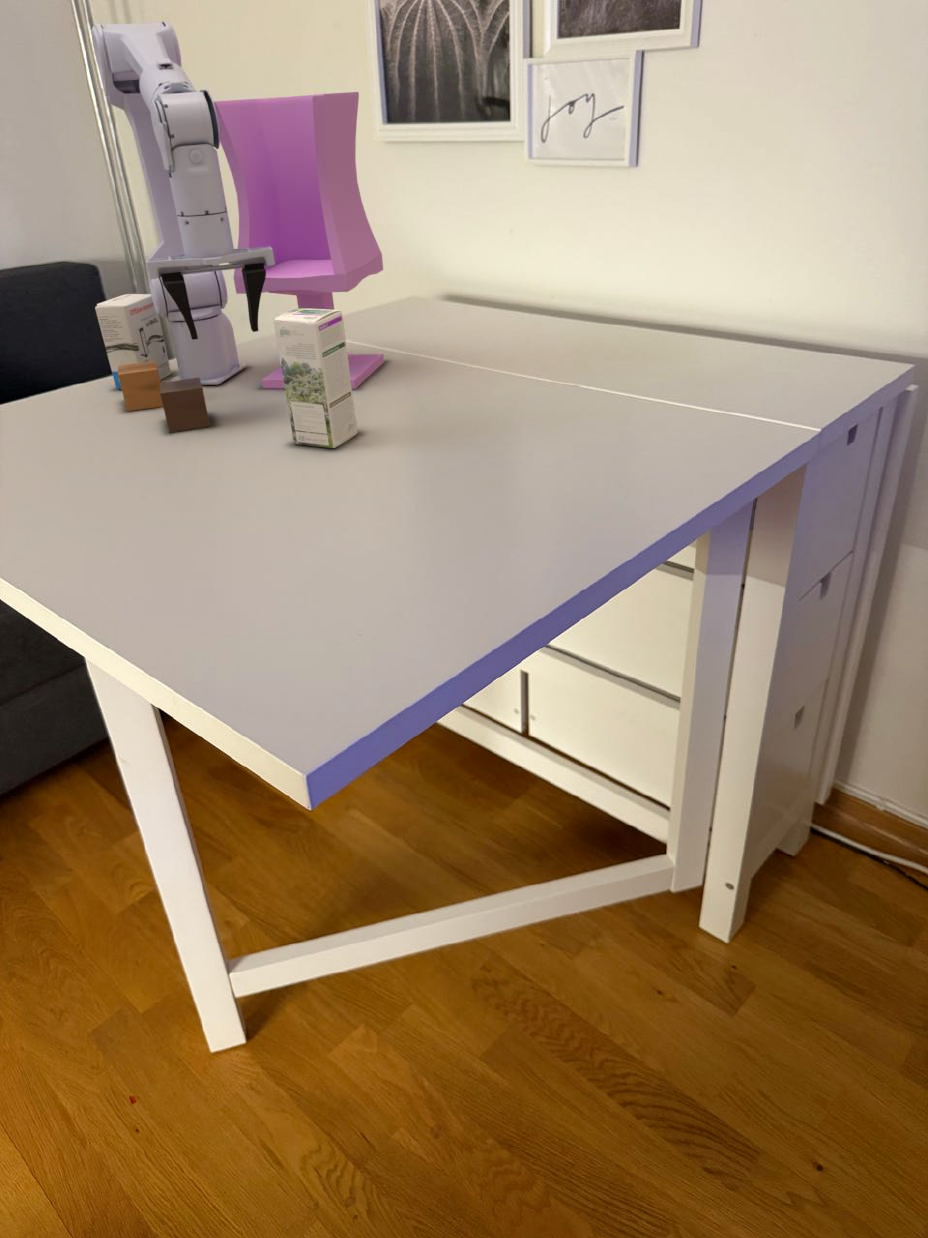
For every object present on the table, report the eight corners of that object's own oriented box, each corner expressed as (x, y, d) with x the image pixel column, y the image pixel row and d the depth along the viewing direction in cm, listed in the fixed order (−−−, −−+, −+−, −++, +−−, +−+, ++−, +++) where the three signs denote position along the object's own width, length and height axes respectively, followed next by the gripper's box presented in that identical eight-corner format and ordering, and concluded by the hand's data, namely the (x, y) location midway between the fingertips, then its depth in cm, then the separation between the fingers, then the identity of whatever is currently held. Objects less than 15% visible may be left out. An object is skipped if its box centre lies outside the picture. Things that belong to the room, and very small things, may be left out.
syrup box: (359, 433, 107) (344, 307, 99) (333, 450, 102) (315, 319, 95) (319, 429, 109) (301, 305, 102) (291, 445, 105) (270, 317, 97)
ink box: (145, 389, 129) (124, 304, 123) (114, 389, 130) (92, 305, 124) (173, 373, 136) (155, 292, 130) (143, 373, 137) (124, 292, 131)
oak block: (127, 401, 124) (117, 365, 122) (164, 396, 125) (156, 360, 123) (127, 411, 120) (117, 374, 118) (165, 406, 121) (157, 369, 119)
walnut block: (167, 421, 115) (158, 382, 113) (207, 415, 117) (199, 377, 114) (169, 432, 111) (160, 393, 109) (210, 426, 112) (202, 387, 110)
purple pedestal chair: (253, 390, 126) (201, 101, 108) (295, 360, 139) (255, 98, 121) (359, 390, 122) (324, 93, 104) (392, 360, 135) (365, 91, 117)
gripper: (137, 222, 98) (165, 348, 105) (269, 210, 102) (288, 332, 109) (136, 216, 104) (163, 336, 111) (262, 204, 108) (280, 321, 114)
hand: (224, 333), depth 110 cm, fingers open, 7 cm apart
